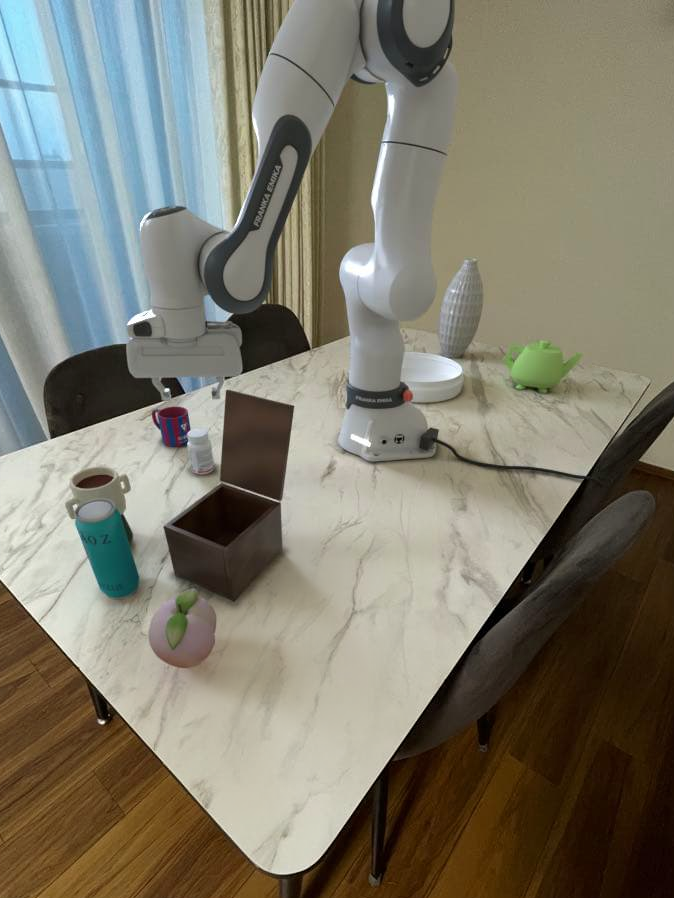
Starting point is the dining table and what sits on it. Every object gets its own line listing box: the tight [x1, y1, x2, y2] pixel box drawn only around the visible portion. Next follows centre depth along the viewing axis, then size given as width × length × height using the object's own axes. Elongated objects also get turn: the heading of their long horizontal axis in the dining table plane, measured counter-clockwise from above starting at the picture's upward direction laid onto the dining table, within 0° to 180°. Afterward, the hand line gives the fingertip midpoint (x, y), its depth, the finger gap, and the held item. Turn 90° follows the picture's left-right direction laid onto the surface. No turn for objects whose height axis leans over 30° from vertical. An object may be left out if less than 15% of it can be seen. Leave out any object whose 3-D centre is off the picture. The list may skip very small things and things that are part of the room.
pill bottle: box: [186, 428, 215, 475], centre depth 97 cm, size 5×5×8 cm
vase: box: [438, 258, 484, 359], centre depth 151 cm, size 13×13×28 cm
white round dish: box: [401, 351, 464, 404], centre depth 136 cm, size 27×27×6 cm
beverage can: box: [74, 499, 140, 601], centre depth 67 cm, size 6×6×15 cm
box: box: [162, 482, 283, 603], centre depth 73 cm, size 14×12×10 cm
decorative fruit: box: [147, 588, 218, 669], centre depth 59 cm, size 9×8×10 cm
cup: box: [151, 405, 192, 447], centre depth 108 cm, size 7×10×7 cm
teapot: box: [502, 339, 583, 394], centre depth 134 cm, size 20×13×13 cm
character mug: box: [64, 466, 134, 545], centre depth 76 cm, size 11×7×13 cm, turn 142°
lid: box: [219, 389, 295, 502], centre depth 72 cm, size 14×12×1 cm
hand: (191, 398), depth 90 cm, fingers open, 8 cm apart
